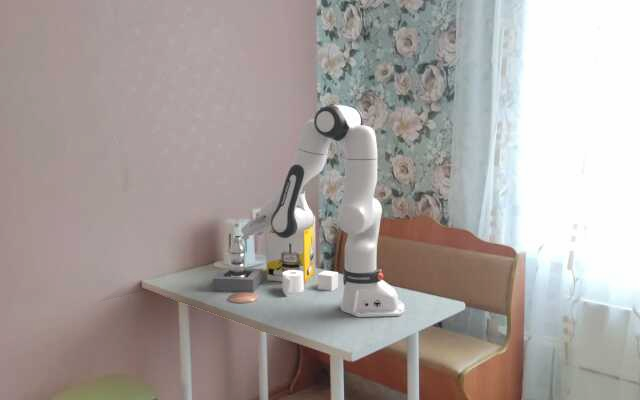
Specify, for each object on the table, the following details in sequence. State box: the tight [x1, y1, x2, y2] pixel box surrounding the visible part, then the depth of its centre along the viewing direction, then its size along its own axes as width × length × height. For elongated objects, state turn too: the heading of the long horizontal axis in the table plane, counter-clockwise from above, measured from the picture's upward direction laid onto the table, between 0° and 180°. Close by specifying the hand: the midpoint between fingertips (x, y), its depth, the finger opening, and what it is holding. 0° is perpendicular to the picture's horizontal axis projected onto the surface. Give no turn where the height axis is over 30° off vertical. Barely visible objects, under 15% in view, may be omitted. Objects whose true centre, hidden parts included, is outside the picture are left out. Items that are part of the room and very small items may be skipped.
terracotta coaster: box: [228, 292, 259, 304], centre depth 212 cm, size 11×11×1 cm
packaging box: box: [265, 215, 317, 284], centre depth 238 cm, size 16×16×25 cm
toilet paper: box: [281, 270, 305, 297], centre depth 220 cm, size 8×11×7 cm
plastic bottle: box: [228, 235, 246, 277], centre depth 226 cm, size 6×7×20 cm
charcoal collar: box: [212, 267, 263, 293], centre depth 227 cm, size 16×15×5 cm
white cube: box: [317, 270, 339, 292], centre depth 224 cm, size 6×6×6 cm
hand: (251, 236), depth 221 cm, fingers open, 8 cm apart
